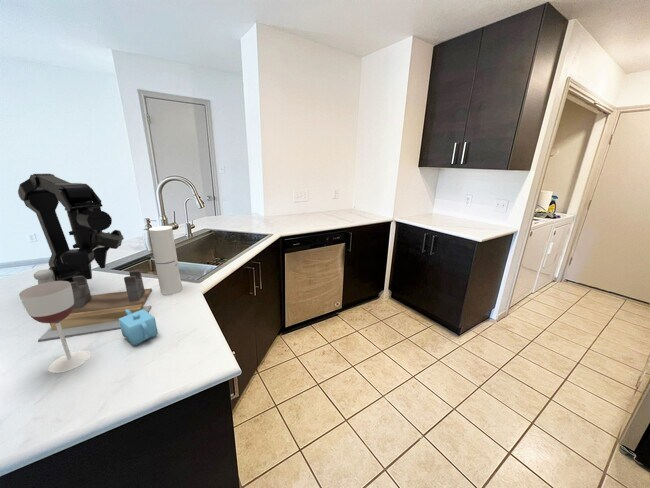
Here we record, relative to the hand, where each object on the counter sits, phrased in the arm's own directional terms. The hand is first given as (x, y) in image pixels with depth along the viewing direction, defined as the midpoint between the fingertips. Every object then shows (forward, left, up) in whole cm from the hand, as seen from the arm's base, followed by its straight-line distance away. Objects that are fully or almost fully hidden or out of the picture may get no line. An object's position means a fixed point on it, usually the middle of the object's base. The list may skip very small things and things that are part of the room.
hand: (96, 273), depth 82 cm
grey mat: (+9, +2, -13) cm, 16 cm away
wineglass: (+26, +2, -13) cm, 29 cm away
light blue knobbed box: (+20, +15, -13) cm, 28 cm away
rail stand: (-4, 0, -13) cm, 14 cm away
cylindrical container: (-8, +18, -13) cm, 24 cm away
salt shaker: (-7, -17, -13) cm, 23 cm away
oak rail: (+9, +2, -12) cm, 15 cm away
